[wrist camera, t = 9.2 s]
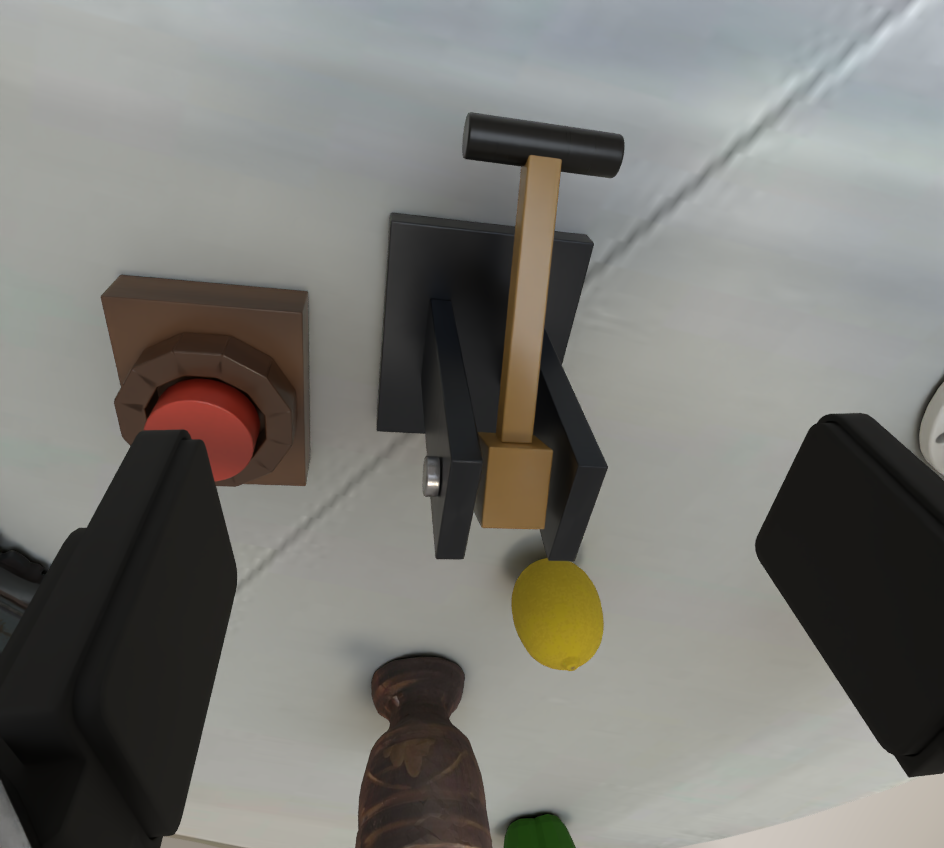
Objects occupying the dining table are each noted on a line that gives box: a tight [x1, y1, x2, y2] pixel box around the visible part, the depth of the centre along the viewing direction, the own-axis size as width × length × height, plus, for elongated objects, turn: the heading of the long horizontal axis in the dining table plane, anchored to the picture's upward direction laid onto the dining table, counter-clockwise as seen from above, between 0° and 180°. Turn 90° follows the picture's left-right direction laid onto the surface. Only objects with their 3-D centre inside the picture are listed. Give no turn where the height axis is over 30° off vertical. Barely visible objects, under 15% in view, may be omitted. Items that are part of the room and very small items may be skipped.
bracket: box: [377, 213, 608, 561], centre depth 25 cm, size 11×9×13 cm
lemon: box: [512, 558, 604, 671], centre depth 37 cm, size 6×6×8 cm
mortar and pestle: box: [355, 657, 492, 848], centre depth 39 cm, size 12×9×20 cm
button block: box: [101, 275, 310, 487], centre depth 28 cm, size 10×8×4 cm
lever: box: [462, 112, 624, 529], centre depth 20 cm, size 13×5×2 cm, turn 172°
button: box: [144, 379, 260, 481], centre depth 26 cm, size 4×4×2 cm
